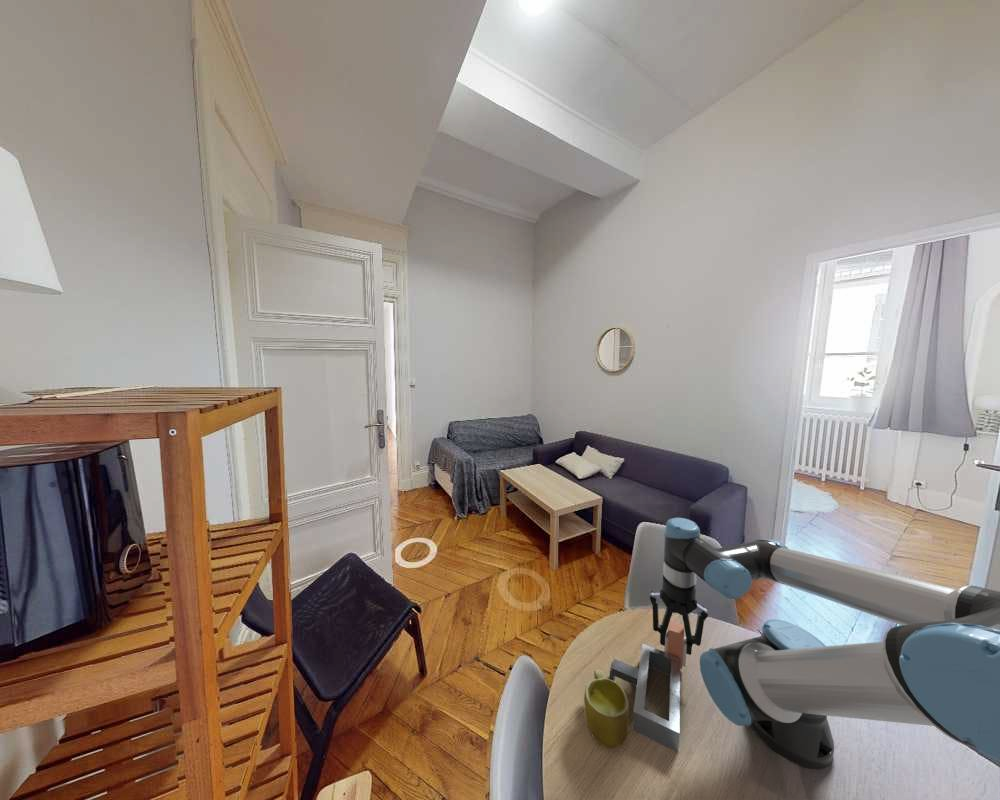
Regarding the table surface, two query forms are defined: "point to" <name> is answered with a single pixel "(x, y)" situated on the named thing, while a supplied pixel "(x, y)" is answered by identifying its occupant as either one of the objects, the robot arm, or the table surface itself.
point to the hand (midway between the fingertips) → (674, 658)
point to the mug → (606, 711)
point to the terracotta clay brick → (676, 640)
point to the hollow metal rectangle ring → (643, 719)
